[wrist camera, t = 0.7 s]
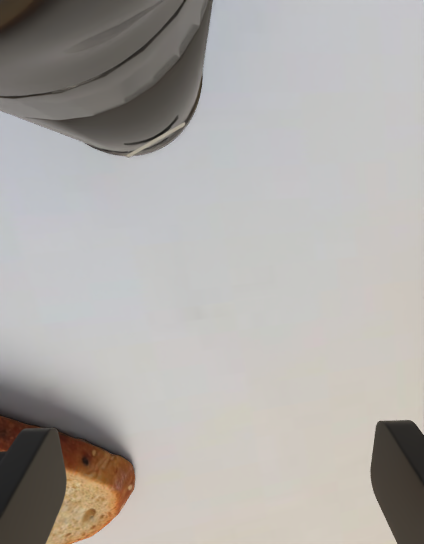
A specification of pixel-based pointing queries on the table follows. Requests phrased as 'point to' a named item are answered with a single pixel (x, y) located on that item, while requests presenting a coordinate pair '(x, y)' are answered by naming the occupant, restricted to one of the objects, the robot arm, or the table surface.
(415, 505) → the robot arm
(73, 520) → the slice of bread
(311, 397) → the table surface
